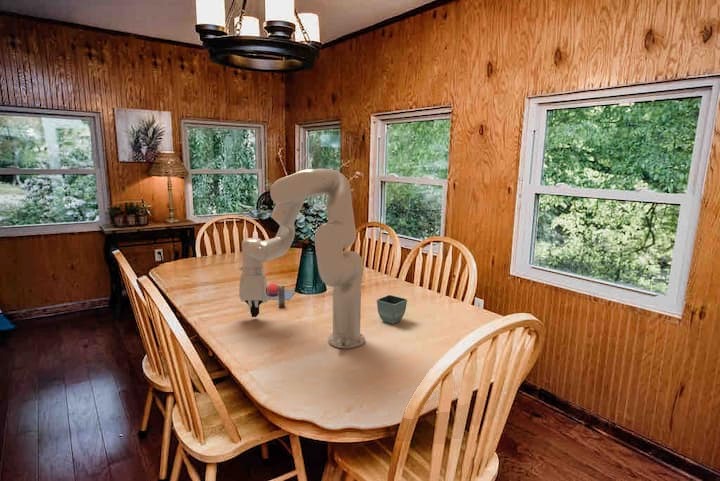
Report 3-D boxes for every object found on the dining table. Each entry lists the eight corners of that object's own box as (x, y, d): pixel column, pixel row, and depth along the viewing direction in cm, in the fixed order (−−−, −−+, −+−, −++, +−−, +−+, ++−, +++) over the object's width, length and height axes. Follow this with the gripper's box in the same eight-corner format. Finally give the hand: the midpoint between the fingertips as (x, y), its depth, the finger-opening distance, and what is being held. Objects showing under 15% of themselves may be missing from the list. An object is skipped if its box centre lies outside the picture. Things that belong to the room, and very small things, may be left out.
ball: (279, 297, 191) (276, 294, 186) (267, 296, 191) (264, 293, 186) (281, 285, 193) (278, 282, 188) (269, 284, 193) (266, 281, 188)
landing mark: (289, 299, 184) (289, 299, 184) (258, 298, 185) (258, 298, 185) (297, 290, 197) (297, 289, 197) (268, 289, 199) (268, 288, 199)
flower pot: (388, 315, 167) (389, 294, 165) (407, 320, 161) (407, 299, 159) (375, 321, 160) (376, 299, 158) (394, 327, 154) (394, 304, 153)
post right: (284, 308, 173) (283, 287, 172) (278, 307, 174) (277, 287, 172) (285, 305, 176) (285, 285, 174) (279, 305, 176) (279, 285, 175)
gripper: (230, 272, 154) (232, 318, 158) (269, 273, 153) (270, 320, 156) (238, 267, 161) (240, 311, 165) (275, 268, 160) (276, 313, 163)
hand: (255, 315), depth 161 cm, fingers closed
